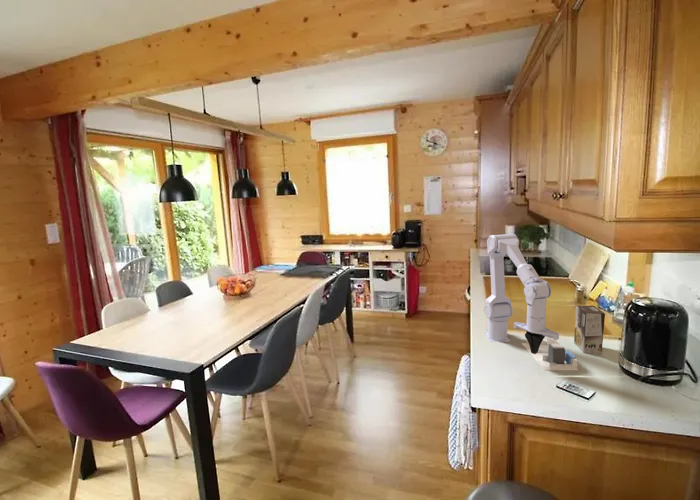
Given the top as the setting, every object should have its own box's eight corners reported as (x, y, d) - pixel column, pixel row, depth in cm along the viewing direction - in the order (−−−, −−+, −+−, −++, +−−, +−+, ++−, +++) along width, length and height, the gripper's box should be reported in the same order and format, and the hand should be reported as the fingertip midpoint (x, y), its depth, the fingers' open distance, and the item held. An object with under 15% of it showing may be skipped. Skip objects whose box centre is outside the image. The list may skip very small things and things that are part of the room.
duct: (521, 344, 143) (521, 333, 142) (550, 344, 142) (550, 333, 141) (544, 371, 122) (545, 359, 121) (578, 371, 121) (579, 359, 120)
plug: (547, 361, 128) (548, 343, 126) (558, 361, 127) (560, 343, 126) (552, 366, 124) (553, 347, 123) (564, 366, 124) (565, 347, 122)
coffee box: (602, 355, 131) (606, 313, 128) (583, 354, 133) (586, 313, 130) (591, 344, 140) (594, 305, 137) (573, 343, 141) (575, 304, 138)
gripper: (563, 318, 120) (561, 355, 122) (520, 308, 131) (519, 342, 134) (554, 323, 116) (552, 362, 118) (511, 313, 127) (509, 348, 129)
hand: (534, 352), depth 126 cm, fingers closed
